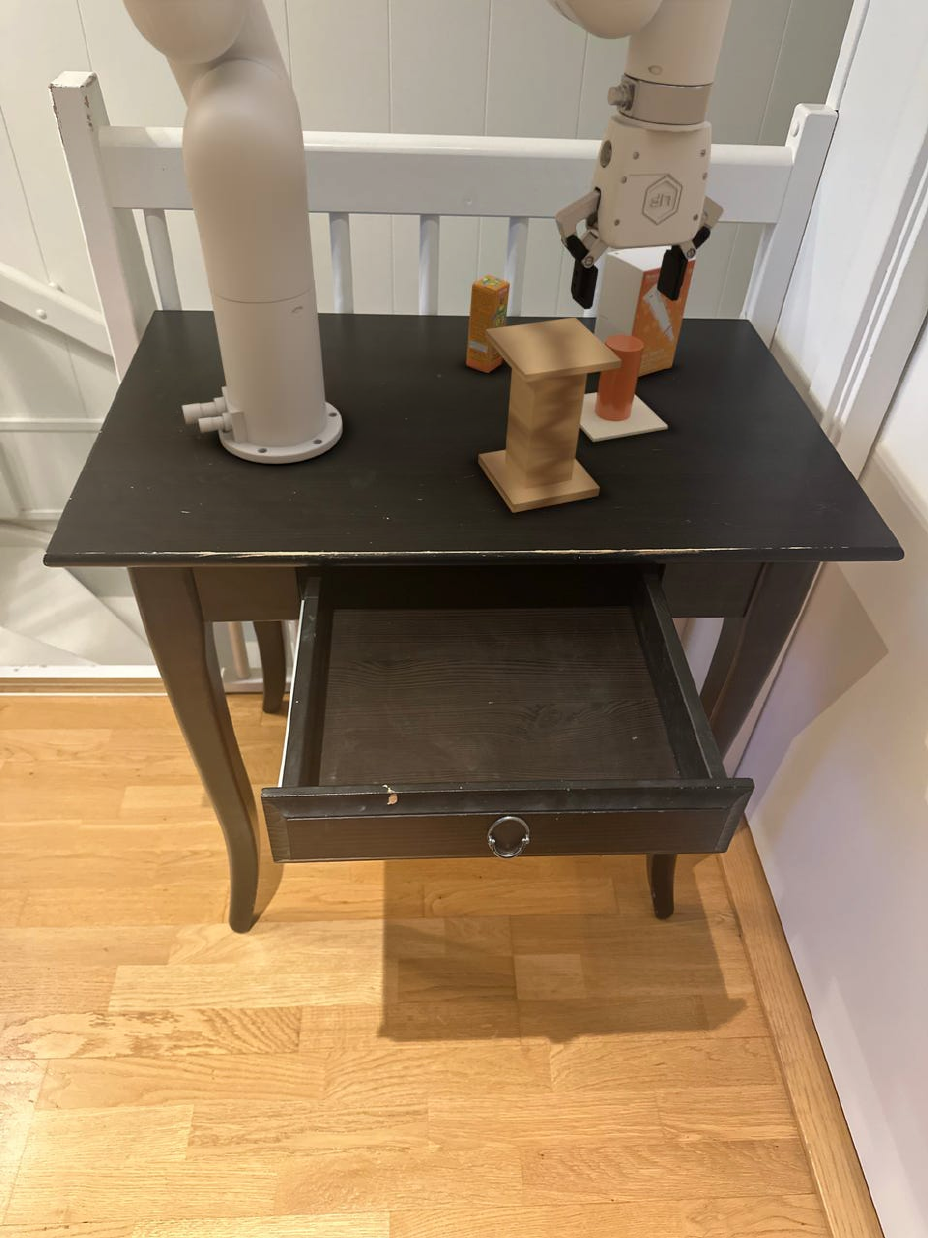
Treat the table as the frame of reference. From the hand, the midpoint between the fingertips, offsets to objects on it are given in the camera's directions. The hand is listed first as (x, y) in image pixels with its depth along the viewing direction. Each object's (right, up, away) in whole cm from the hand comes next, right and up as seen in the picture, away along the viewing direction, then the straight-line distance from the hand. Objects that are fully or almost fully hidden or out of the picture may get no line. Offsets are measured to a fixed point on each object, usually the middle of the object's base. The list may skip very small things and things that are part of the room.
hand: (624, 299), depth 83 cm
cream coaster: (0, -9, +9) cm, 13 cm away
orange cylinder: (0, -9, +9) cm, 13 cm away
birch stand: (-9, -18, -1) cm, 20 cm away
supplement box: (-13, -2, +17) cm, 22 cm away
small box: (+4, -1, +18) cm, 19 cm away
